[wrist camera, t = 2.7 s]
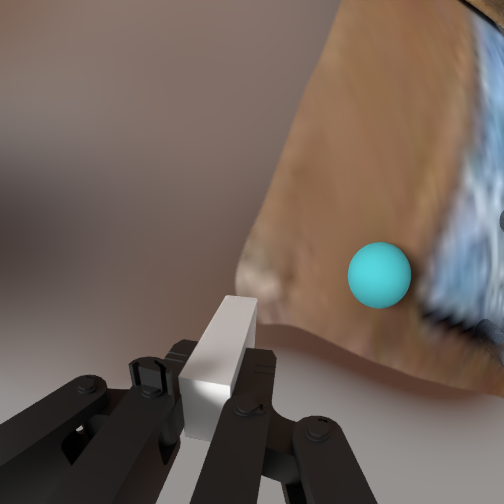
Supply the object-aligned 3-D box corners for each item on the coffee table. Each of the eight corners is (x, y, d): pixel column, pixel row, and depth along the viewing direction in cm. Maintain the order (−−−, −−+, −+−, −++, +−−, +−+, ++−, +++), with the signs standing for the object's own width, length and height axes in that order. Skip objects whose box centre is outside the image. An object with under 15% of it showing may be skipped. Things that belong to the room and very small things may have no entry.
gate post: (492, 318, 25) (534, 355, 16) (486, 337, 25) (524, 377, 17) (478, 319, 25) (520, 358, 16) (471, 338, 26) (509, 380, 17)
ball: (403, 239, 25) (426, 253, 19) (393, 296, 26) (412, 320, 21) (347, 233, 25) (360, 246, 20) (339, 292, 27) (348, 317, 21)
